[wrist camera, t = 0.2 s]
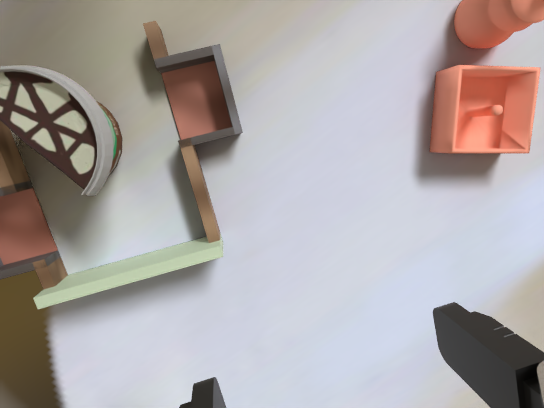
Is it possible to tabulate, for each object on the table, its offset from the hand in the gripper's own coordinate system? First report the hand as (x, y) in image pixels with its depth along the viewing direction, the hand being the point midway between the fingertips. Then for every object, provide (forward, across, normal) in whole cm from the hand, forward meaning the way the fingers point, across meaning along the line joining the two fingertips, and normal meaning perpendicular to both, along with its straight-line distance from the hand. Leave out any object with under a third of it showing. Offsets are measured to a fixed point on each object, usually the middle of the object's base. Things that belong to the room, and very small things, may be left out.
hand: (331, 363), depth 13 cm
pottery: (+30, -28, -8) cm, 42 cm away
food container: (+29, +14, -13) cm, 35 cm away
